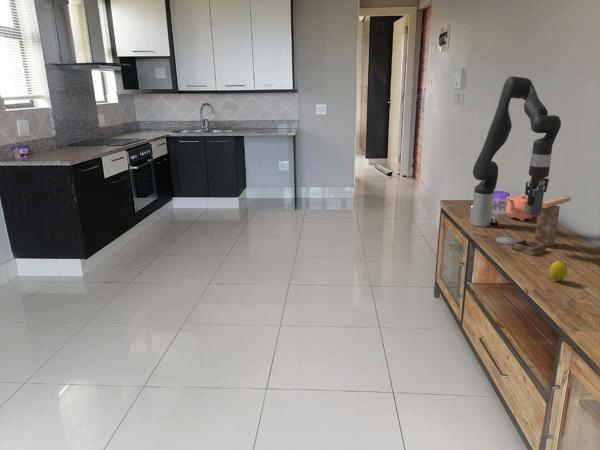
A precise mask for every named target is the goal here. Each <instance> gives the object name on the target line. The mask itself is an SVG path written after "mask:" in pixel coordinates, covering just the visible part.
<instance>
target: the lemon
mask: <svg viewBox="0 0 600 450" xmlns="http://www.w3.org/2000/svg"><path fill="white" fill-rule="evenodd" d="M567 274H568V268H567V265H566V263H564V262H562V261H561V260H558V261H555V262H553V263H552V264H551V265H550V268H549V276H550V277H551V278H552V279H553V280H554V281H555V282H559V281H562V280H564V279H565V278H566V277H567Z"/></svg>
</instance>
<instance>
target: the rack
mask: <svg viewBox="0 0 600 450" xmlns="http://www.w3.org/2000/svg"><path fill="white" fill-rule="evenodd" d="M560 209H561V207H560V206H559V205H556V206H552V207H549V208H542V209H541V215H539V216H536V217H537V218H536V223H535V224H536V225H535V231H534V239H533V240H530V239H525V238H524V239H520V240H519V241H517V242H515V243H512V245H511V250H512V251H515V252H519V253H521V254H525V255H529V256H536V255H539V254H541V253H543V252H545V251H546V250H545V249H546V248H549V247H552V246H554V245H555V240H556V239H555V238H556V233H557V227H558V221H559V214H560Z"/></svg>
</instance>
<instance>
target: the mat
mask: <svg viewBox="0 0 600 450" xmlns="http://www.w3.org/2000/svg"><path fill="white" fill-rule="evenodd" d="M495 241H496V242H497V243H498V244H502V245H507V246H512V243H515V242H517V241H520V240H519V239H517V238H514V237H507V236H501V237H500V236H499V237H496V239H495Z"/></svg>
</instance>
